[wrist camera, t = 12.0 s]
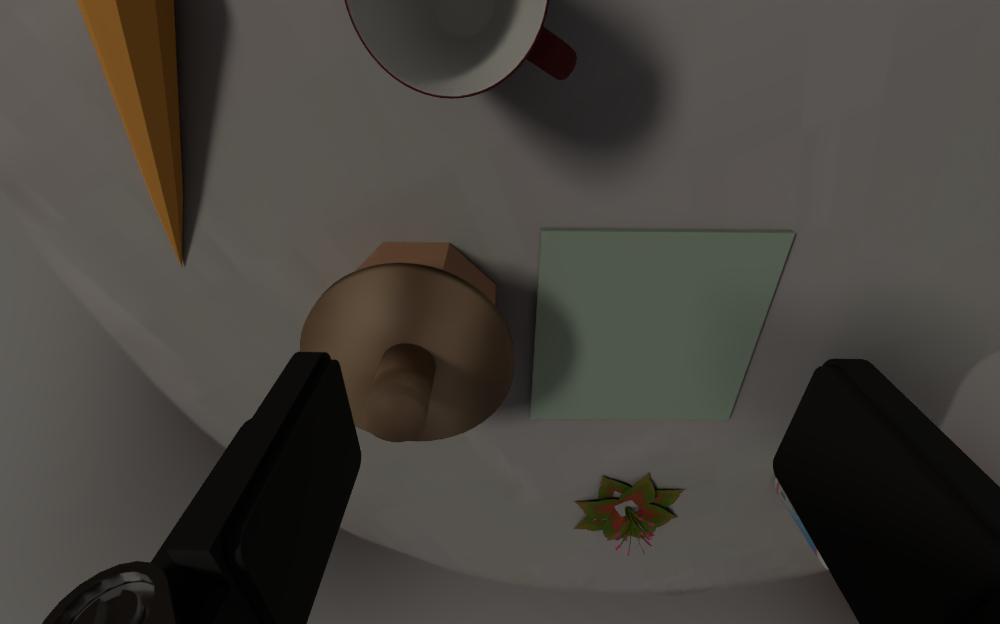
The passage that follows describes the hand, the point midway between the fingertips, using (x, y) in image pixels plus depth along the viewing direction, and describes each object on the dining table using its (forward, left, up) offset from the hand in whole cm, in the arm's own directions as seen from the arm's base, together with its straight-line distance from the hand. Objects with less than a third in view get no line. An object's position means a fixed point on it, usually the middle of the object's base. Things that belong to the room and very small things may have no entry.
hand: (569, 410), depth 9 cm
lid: (+7, +12, -18) cm, 23 cm away
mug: (+2, -8, -25) cm, 26 cm away
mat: (-11, +14, -24) cm, 30 cm away
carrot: (+23, -1, -25) cm, 34 cm away
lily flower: (-13, +37, -25) cm, 46 cm away
